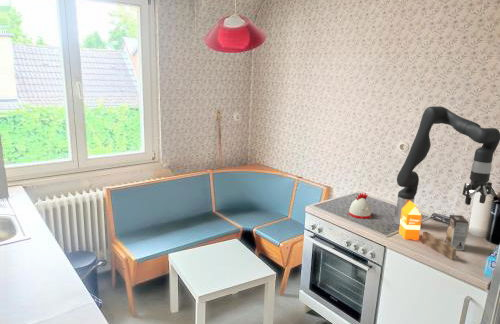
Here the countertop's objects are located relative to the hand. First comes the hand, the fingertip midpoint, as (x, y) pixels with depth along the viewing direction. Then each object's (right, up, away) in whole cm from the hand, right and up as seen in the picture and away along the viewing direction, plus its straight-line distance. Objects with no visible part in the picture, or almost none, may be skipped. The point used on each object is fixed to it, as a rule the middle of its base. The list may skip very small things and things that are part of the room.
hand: (474, 203), depth 163 cm
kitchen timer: (-35, -15, +62) cm, 73 cm away
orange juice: (-17, -23, +32) cm, 42 cm away
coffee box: (+3, -25, +21) cm, 33 cm away
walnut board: (-9, -26, +15) cm, 32 cm away
